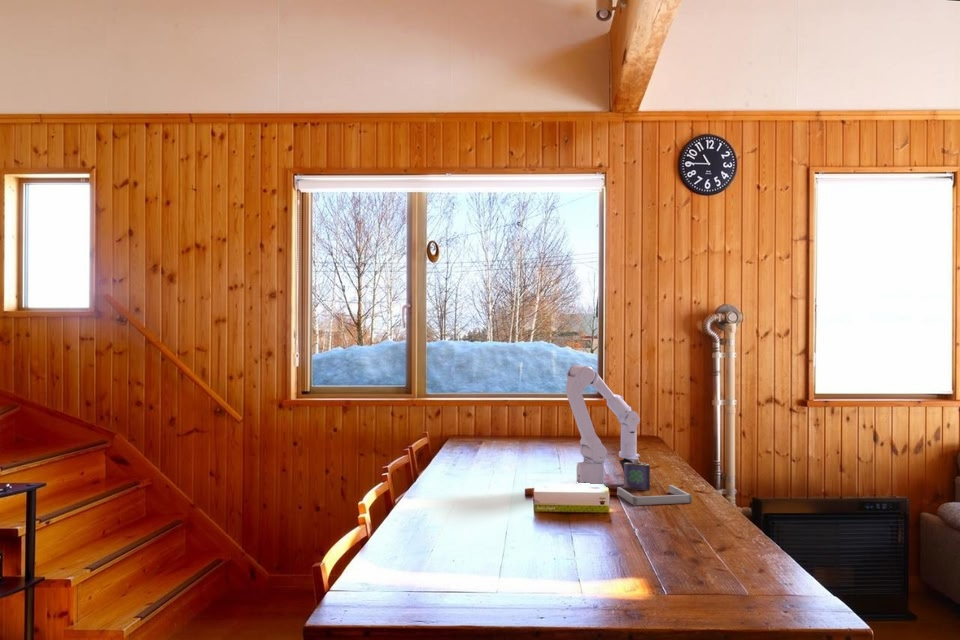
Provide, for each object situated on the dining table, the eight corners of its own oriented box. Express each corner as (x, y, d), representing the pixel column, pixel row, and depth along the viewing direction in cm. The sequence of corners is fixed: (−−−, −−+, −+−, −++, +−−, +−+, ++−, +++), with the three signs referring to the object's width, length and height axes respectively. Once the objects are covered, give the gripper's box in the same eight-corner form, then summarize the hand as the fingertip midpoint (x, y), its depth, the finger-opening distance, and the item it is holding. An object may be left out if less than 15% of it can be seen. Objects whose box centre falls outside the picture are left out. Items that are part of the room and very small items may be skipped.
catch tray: (633, 505, 238) (633, 497, 238) (617, 494, 253) (617, 487, 253) (691, 502, 242) (691, 495, 242) (671, 492, 256) (671, 484, 256)
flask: (623, 488, 262) (623, 458, 262) (625, 486, 265) (625, 456, 265) (649, 491, 258) (649, 460, 258) (650, 489, 261) (651, 459, 261)
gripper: (646, 445, 263) (646, 483, 263) (631, 439, 277) (631, 475, 277) (628, 446, 262) (628, 484, 262) (613, 439, 276) (613, 476, 276)
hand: (628, 479), depth 269 cm, fingers closed
